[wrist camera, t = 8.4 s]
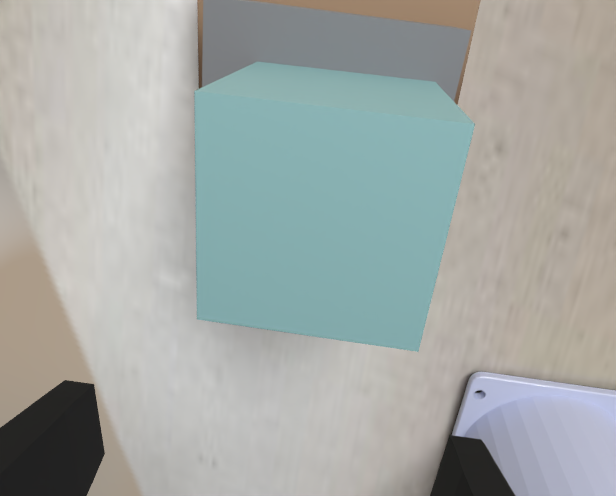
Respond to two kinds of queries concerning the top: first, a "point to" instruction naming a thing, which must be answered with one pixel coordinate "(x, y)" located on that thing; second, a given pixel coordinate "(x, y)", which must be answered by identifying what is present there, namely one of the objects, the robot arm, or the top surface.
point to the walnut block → (385, 16)
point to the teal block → (324, 200)
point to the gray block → (328, 42)
